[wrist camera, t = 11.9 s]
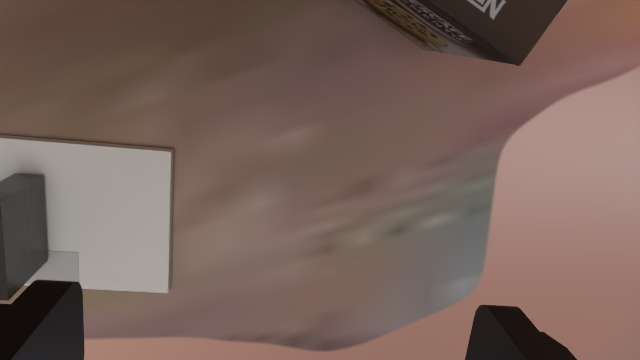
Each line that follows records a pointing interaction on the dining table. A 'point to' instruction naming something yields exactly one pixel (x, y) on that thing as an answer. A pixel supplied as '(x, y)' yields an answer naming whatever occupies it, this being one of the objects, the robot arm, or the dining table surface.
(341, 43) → the dining table surface
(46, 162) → the gauge base
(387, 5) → the coffee box
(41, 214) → the tall dark grey box
